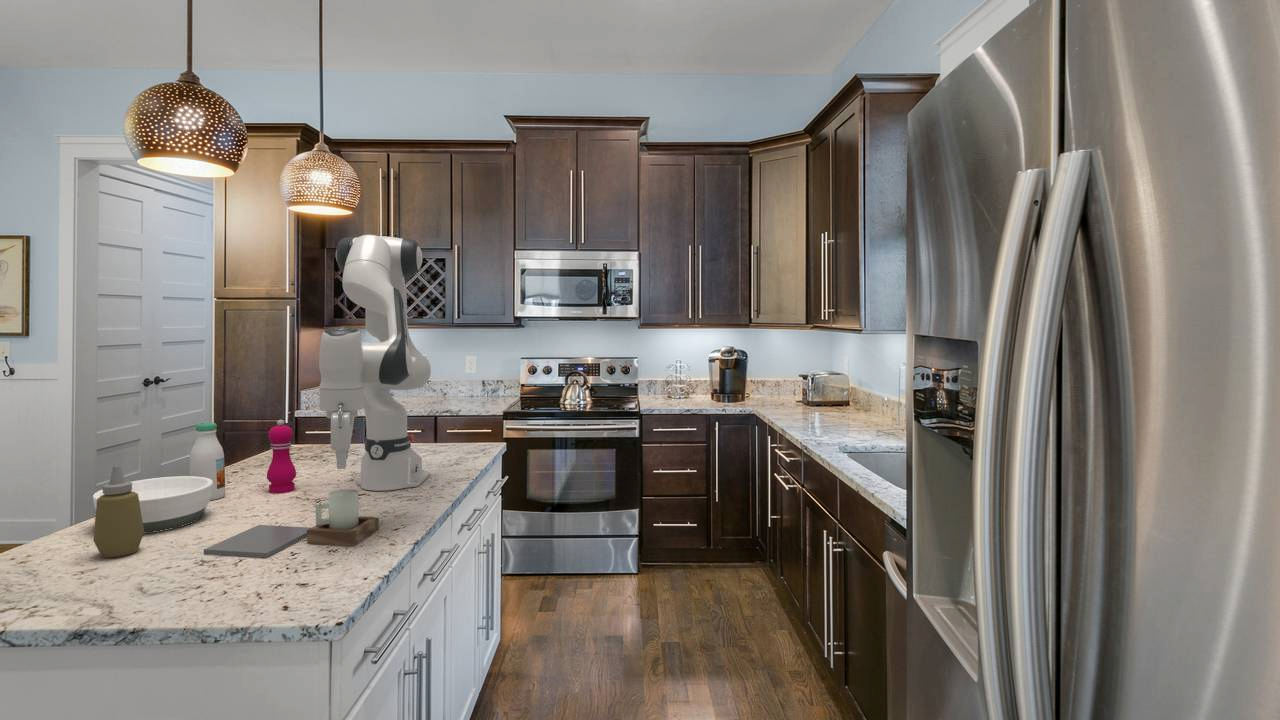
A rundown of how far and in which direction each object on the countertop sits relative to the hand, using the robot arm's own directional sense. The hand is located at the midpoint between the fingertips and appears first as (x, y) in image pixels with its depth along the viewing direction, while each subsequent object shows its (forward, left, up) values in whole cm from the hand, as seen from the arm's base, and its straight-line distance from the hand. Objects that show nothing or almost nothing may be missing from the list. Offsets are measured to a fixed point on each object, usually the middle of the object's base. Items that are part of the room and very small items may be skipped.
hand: (342, 463), depth 140 cm
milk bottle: (-23, -53, -17) cm, 60 cm away
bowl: (-3, -49, -17) cm, 52 cm away
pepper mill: (-33, -39, -17) cm, 54 cm away
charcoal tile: (+6, -15, -17) cm, 23 cm away
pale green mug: (0, -1, -17) cm, 17 cm away
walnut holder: (0, 0, -17) cm, 17 cm away
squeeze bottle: (+16, -39, -17) cm, 45 cm away
